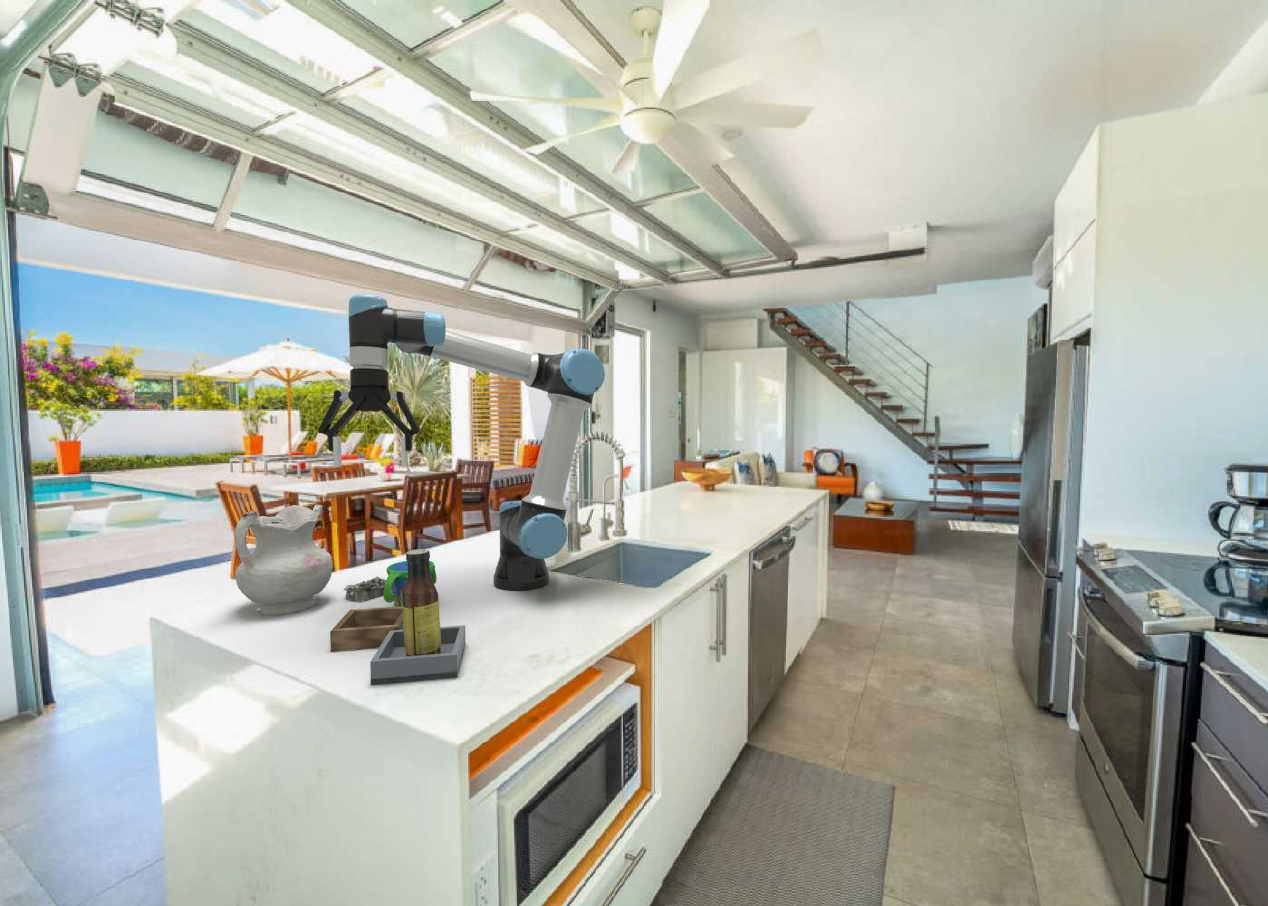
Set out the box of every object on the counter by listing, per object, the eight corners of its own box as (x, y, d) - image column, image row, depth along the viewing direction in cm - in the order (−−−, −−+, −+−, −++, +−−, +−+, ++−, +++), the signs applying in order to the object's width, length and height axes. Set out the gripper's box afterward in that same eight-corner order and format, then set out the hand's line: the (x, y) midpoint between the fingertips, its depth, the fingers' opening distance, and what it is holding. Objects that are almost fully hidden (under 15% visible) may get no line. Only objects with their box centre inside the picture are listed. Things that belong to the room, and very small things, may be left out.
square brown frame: (411, 623, 118) (411, 605, 118) (399, 646, 106) (398, 626, 106) (350, 627, 116) (350, 609, 116) (330, 651, 104) (330, 631, 104)
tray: (465, 644, 107) (465, 625, 107) (457, 677, 93) (457, 654, 93) (390, 650, 104) (390, 630, 104) (370, 685, 91) (370, 661, 90)
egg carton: (358, 604, 132) (358, 588, 132) (341, 599, 135) (340, 584, 135) (396, 593, 141) (395, 578, 140) (378, 588, 144) (378, 574, 144)
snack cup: (401, 620, 120) (400, 576, 120) (368, 613, 125) (367, 570, 124) (451, 600, 134) (451, 560, 134) (420, 594, 139) (419, 555, 138)
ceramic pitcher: (293, 630, 117) (299, 517, 116) (203, 623, 117) (208, 510, 116) (345, 599, 139) (351, 503, 137) (270, 593, 138) (274, 497, 137)
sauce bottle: (447, 651, 102) (445, 547, 101) (431, 665, 96) (429, 555, 95) (414, 649, 102) (412, 546, 101) (396, 664, 96) (394, 554, 95)
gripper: (432, 371, 123) (434, 464, 124) (312, 369, 118) (315, 465, 119) (427, 368, 115) (428, 466, 116) (298, 365, 110) (301, 468, 111)
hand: (371, 466), depth 118 cm, fingers open, 13 cm apart
